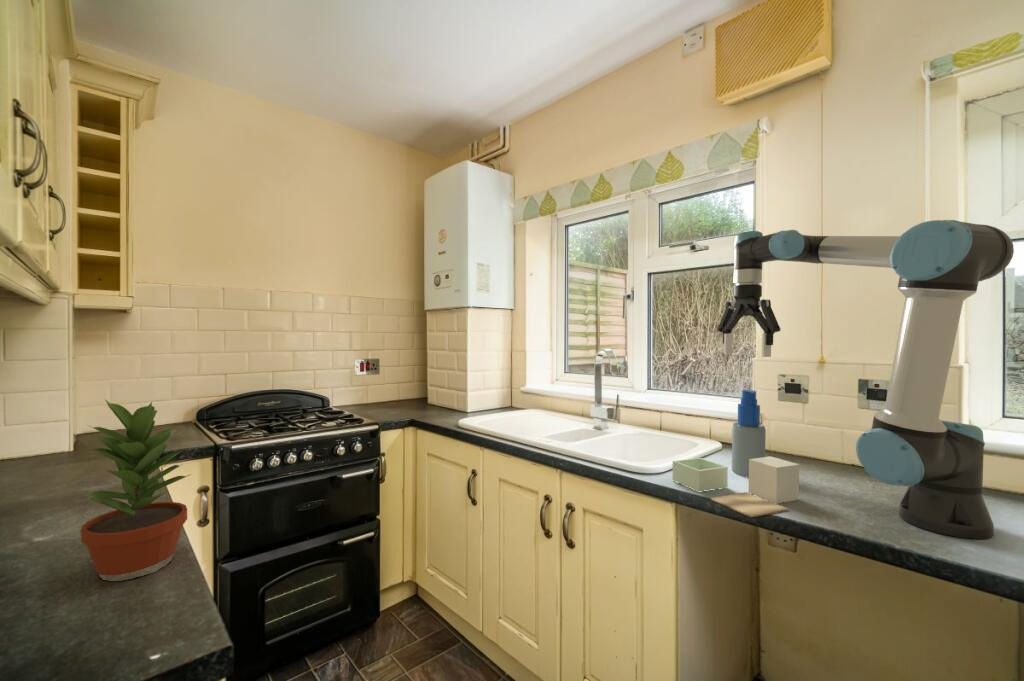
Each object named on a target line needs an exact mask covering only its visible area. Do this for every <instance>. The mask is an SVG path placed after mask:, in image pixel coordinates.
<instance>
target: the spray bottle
mask: <svg viewBox="0 0 1024 681" xmlns="http://www.w3.org/2000/svg"><path fill="white" fill-rule="evenodd" d="M760 423H761V405H760V404H758V399H757V391H756V390H751V389H742V390H741V398H740V403H738V404H737V422H733V423H732V428H731V430H732V433H731V434H732V435H731V440H732V442H731V447H732V449H731V472H732V471H733V472H734V473H733V472H732V473H733V474H735V473H736V474H735V475H738V474H739V475H738V476H741V475H742V476H741V477H746V476H747V477H748V478H749V459H755V458H762V457H766V436H767V435H766V433H767V432H766V426H765V425H763V424H760ZM747 477H746V478H747Z"/></svg>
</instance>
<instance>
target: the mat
mask: <svg viewBox="0 0 1024 681" xmlns="http://www.w3.org/2000/svg"><path fill="white" fill-rule="evenodd" d="M710 501H713V502H715V503H718V504H720V505H722V506H724V507H727V508H728V509H731V510H733V511H735V512H738V513H740V514H742V515H745V516H747V517H750V518H751V519H752V518H757V517H762V516H768V515H771V514H778V513H781V511H783V512H787V510H788V511H789V510H790V509H789V508H788V507H786V506H784V505H783V506H782V505H780V504H779V503H778V504H775V503H773V502H770V501H767V500H765V499H762V498H760V497H757V496H754V495H752V494H749V492H746V491H745V492H738V493H734V494H727V495H722V496H715V497H714V496H713V497H710Z"/></svg>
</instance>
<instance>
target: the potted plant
mask: <svg viewBox="0 0 1024 681" xmlns="http://www.w3.org/2000/svg"><path fill="white" fill-rule="evenodd" d="M104 400H105V402H106V404H107V407H108V408H109V409H110V410H111V411H112V413H113V414H114V416H116V418H117V419H118V420H119V422H120V423H121V424H122V425H123V427H124V428H125V429H126V432H125V433H126V435H123V434H121V433H119V432H116V431H114V430H111V429H109V428H105V427H101V426H96V427H92V426H90V425H87V424H86V426H87V427H90V428H92V429H94V430H96V431H98V432H101V433H103V434H105V435H107V436H105V437H103V436H102V437H101V436H100V435H97V434H94V435H95V437H97V438H98V440H99V441H100V442H101V443H103V444H104V445H105V446H106V447H108V448H109V449H108V448H102V447H99V448H93V447H92V448H91V447H89V446H87V448H88V449H90V450H91V451H94V452H96V453H98V454H100V455H102V456H104V457H106V458H107V459H110V460H112V461H114V463H115V465H116V467H117V470H111V469H106V470H107V472H108V473H110V474H112V475H114V476H115V477H117V478H119V479H120V480H121V485H122V489H123V492H122V491H121V492H119V491H109V490H99V491H93V492H92V493H89V495H87V494H85V493H84V494H83V496H84V497H85V498H88V499H90V500H91V501H93V502H96V503H99V504H101V505H104V506H107V507H109V508H111V509H114V510H110V511H108V512H105V513H103V514H99V515H97V516H95V517H93V518H91V519H89V520H87V521H86V522H85V523H84V524H82V526H81V530H80V535H81V536H80V537H81V538H80V539H81V540H80V541H81V543H82V544H84V545H85V546H86V548H87V550H88V552H89V555H90V558H91V560H92V563H93V565H94V568H95V571H96V573H97V572H98V573H99V574H101V575H121V574H126V573H131V572H135V571H137V570H141V569H144V568H147V567H150V566H153V565H155V564H157V563H159V562H161V561H163V560H166V559H167V558H169V557H170V556H171V555H173V553H174V552H175V553H176V550H177V546H178V542H179V539H180V535H181V533H182V529H183V526H184V524H185V523H186V522H187V520H188V508H187V505H186V504H184V503H181V502H178V501H177V502H175V501H159V502H158V501H157V502H155V501H156V500H158V499H159V498H160V497H161V496H163V495H164V494H166V492H160V493H159V494H157V495H154V493H155V492H156V491H158V490H161V489H162V488H164V487H166V486H169V485H171V484H173V483H176V482H177V481H180V480H183V479H185V478H186V477H189V476H191V475H192V473H191V474H188V475H177V476H174V477H171V478H169V479H165V480H163V481H161V482H160V479H162V478H163V477H164V476H166V475H168V474H169V473H172V472H173V471H175V470H176V469H177V468H179V467H181V466H182V464H180V465H178V464H174V465H171V466H169V467H167V468H166V469H164V470H162V471H160V472H159V473H157V474H156V475H153V476H152V477H149V476H150V475H151V474H152V473H154V472H155V471H157V469H159V468H161V467H162V466H163V465H164V464H166V463H167V462H169V461H170V460H172V459H173V458H175V456H177V455H179V453H181V452H182V450H180V451H179V452H177V453H176V452H175V453H174V452H172V453H169V454H166V455H165V456H163V457H161V455H162V454H163V453H164V452H165V450H166V449H167V447H168V444H167V443H166V442H167V441H168V439H169V438H170V436H171V433H172V432H171V431H172V430H173V429H174V427H173V425H171V426H170V427H168V428H167V429H165V430H162V431H159V432H157V433H156V434H154V435H151V434H152V431H153V429H154V427H155V423H156V422H155V420H154V419H155V418H156V415H157V413H158V410H155V409H156V408H155V406H153V401H151V402H150V403H149V404H148V405H147V406H143V407H139V408H137V409H136V410H135V411H134V412H133V414H132V413H131V412H130V411H129V410H128V409H127V408H125V407H124V406H123V405H121V404H118V403H111V402H110V401H108V400H107V398H106V399H105V398H104ZM109 436H110V437H109ZM160 457H161V458H160ZM159 458H160V459H159ZM158 459H159V460H158ZM121 500H127V502H128V503H125V501H124V502H123V501H121ZM175 553H174V554H175ZM98 573H97V574H98Z"/></svg>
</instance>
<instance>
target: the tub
mask: <svg viewBox="0 0 1024 681" xmlns="http://www.w3.org/2000/svg"><path fill="white" fill-rule="evenodd" d="M728 474H729V473H728V466H726V465H723V464H720V463H717V462H714V461H711V460H708V459H705V458H702V457H695V458H686V459H678V460H677V459H676V460H672V480H674V481H677V482H679V483H681V484H683V485H685V486H688V487H691V488H693V489H695V490H697V491H704V490H710V489H719V488H726V487H727V488H728V478H729V476H728ZM685 486H684V487H685ZM727 488H726V489H727ZM719 490H720V489H719Z"/></svg>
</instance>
